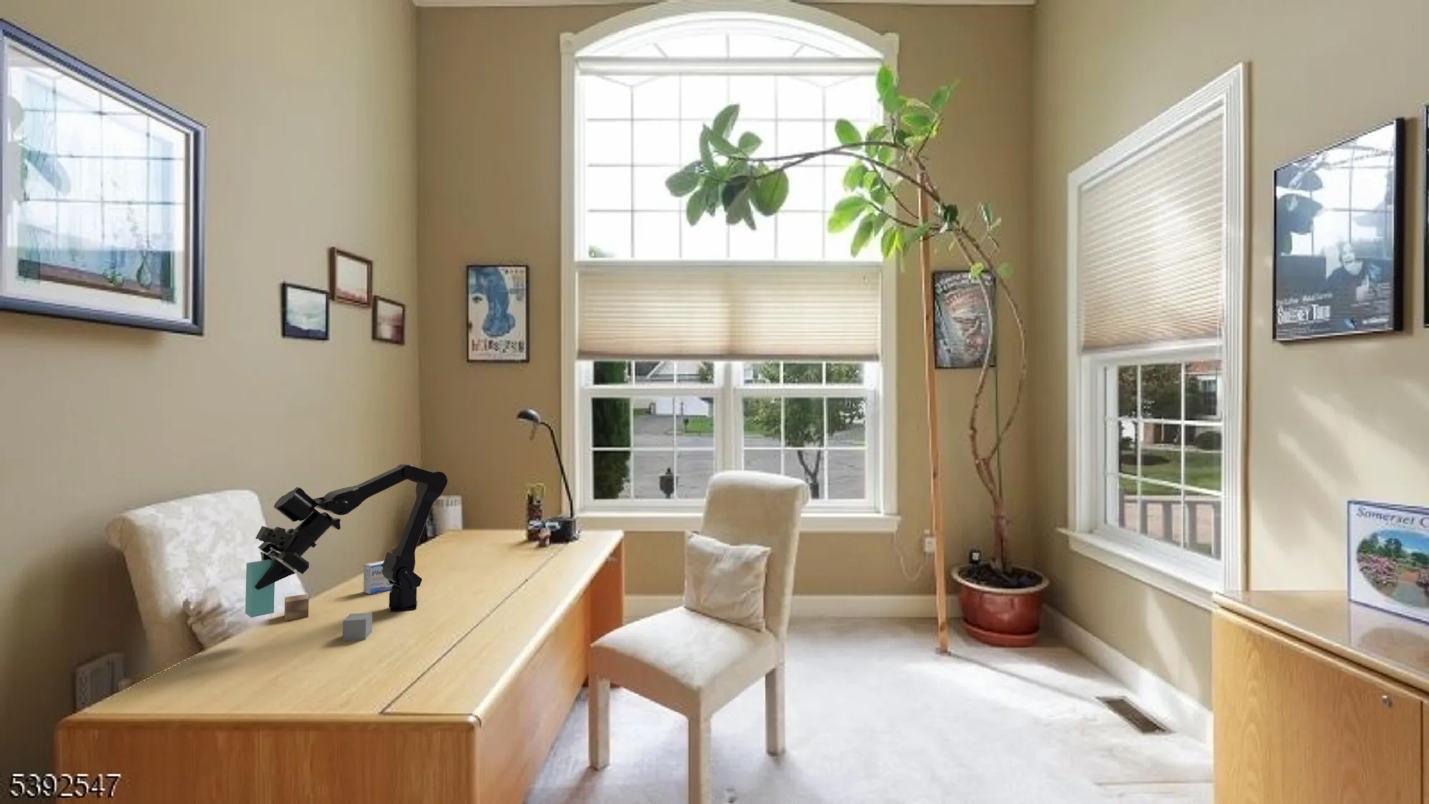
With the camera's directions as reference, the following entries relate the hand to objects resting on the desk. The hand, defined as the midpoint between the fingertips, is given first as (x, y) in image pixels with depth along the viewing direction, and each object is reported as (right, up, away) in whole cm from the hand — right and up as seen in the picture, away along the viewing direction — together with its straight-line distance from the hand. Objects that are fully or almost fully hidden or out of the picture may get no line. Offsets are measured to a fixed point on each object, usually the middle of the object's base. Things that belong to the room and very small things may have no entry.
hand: (253, 586), depth 144 cm
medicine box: (+7, -14, +43) cm, 45 cm away
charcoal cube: (+22, -14, +6) cm, 26 cm away
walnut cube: (-3, -14, +19) cm, 24 cm away
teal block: (+1, -7, +1) cm, 7 cm away
